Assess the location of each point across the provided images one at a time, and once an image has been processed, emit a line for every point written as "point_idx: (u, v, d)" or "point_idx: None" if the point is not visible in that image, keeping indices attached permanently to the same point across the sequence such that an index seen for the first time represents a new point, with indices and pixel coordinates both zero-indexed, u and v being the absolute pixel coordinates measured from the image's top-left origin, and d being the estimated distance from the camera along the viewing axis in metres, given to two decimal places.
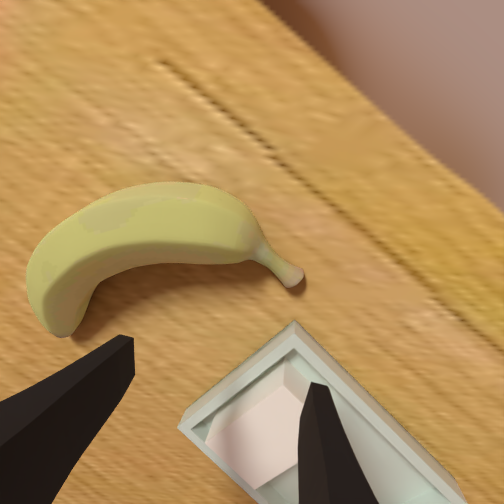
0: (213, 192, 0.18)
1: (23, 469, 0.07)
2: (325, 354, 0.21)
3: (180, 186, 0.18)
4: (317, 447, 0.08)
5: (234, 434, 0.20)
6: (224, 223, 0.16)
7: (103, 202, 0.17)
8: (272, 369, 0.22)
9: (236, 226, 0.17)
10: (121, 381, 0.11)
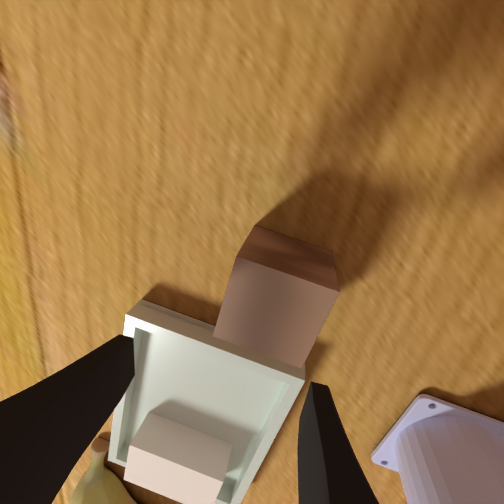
0: None
1: (23, 469, 0.07)
2: None
3: None
4: (317, 447, 0.08)
5: (184, 498, 0.24)
6: None
7: None
8: None
9: None
10: (121, 381, 0.11)
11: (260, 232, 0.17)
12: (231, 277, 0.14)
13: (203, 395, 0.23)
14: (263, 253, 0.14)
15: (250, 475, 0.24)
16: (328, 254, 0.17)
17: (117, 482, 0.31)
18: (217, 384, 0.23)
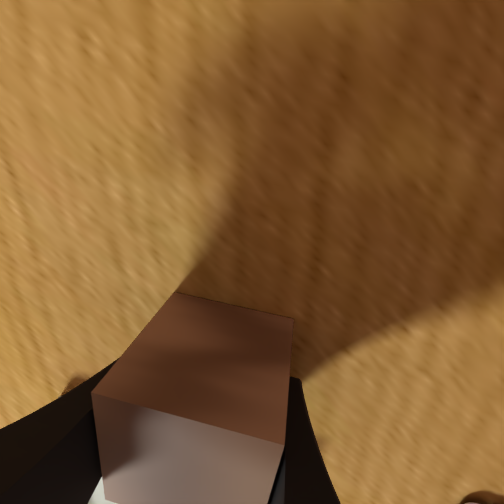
0: None
1: (60, 481, 0.07)
2: None
3: None
4: None
5: None
6: None
7: None
8: None
9: None
10: None
11: (175, 308, 0.11)
12: (97, 423, 0.08)
13: None
14: (155, 366, 0.08)
15: None
16: (286, 330, 0.11)
17: None
18: None
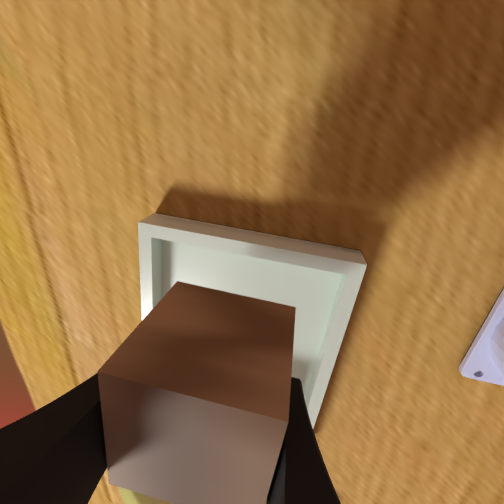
0: None
1: (59, 480, 0.07)
2: None
3: None
4: None
5: None
6: None
7: None
8: None
9: None
10: None
11: (179, 296, 0.11)
12: (102, 403, 0.08)
13: None
14: (160, 348, 0.08)
15: (312, 415, 0.20)
16: (288, 317, 0.11)
17: None
18: None
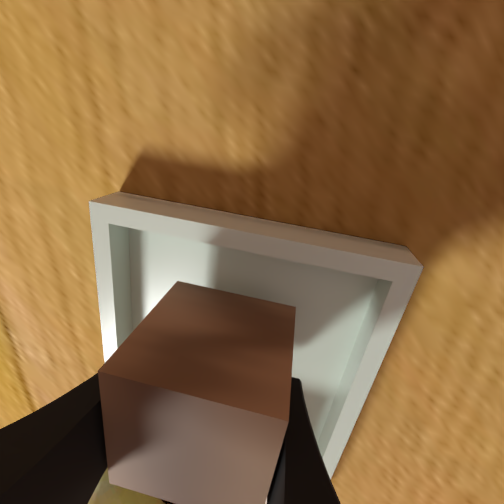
0: None
1: (60, 481, 0.07)
2: None
3: None
4: None
5: None
6: None
7: None
8: None
9: None
10: None
11: (179, 296, 0.11)
12: (103, 403, 0.08)
13: None
14: (160, 348, 0.08)
15: (329, 465, 0.15)
16: (288, 317, 0.11)
17: None
18: None
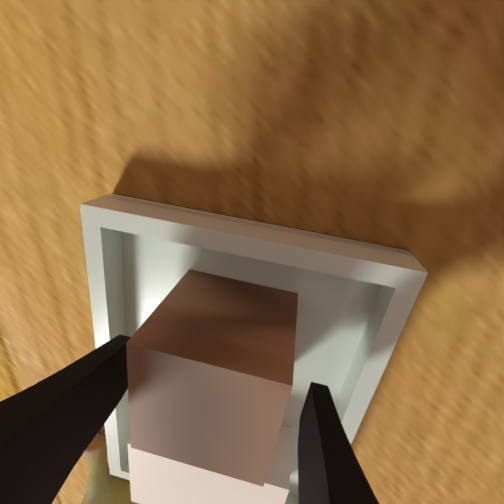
0: None
1: (23, 469, 0.07)
2: None
3: None
4: (317, 447, 0.08)
5: None
6: None
7: None
8: None
9: None
10: (121, 381, 0.11)
11: (192, 282, 0.12)
12: (129, 372, 0.09)
13: None
14: (178, 326, 0.09)
15: None
16: (291, 301, 0.12)
17: None
18: None
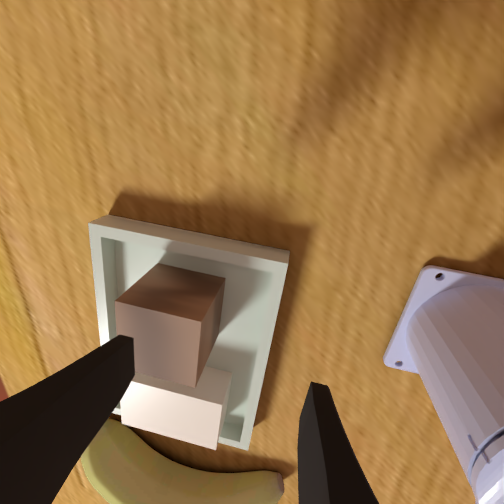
0: None
1: (23, 469, 0.07)
2: None
3: None
4: (317, 447, 0.08)
5: (187, 435, 0.22)
6: (84, 467, 0.26)
7: None
8: None
9: (82, 459, 0.26)
10: (121, 381, 0.11)
11: (157, 270, 0.19)
12: (116, 318, 0.16)
13: None
14: (145, 293, 0.17)
15: (254, 401, 0.22)
16: (218, 282, 0.19)
17: (128, 431, 0.28)
18: None
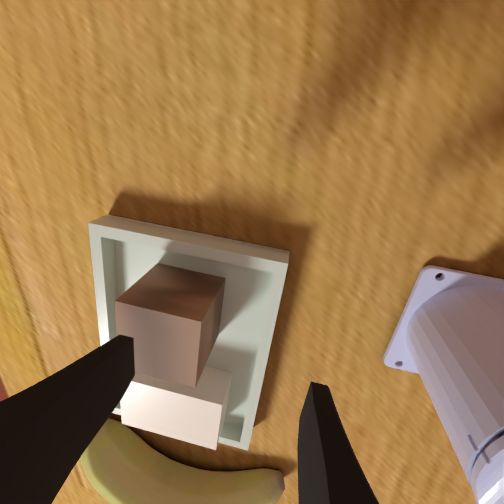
0: None
1: (23, 469, 0.07)
2: None
3: None
4: (317, 447, 0.08)
5: (187, 435, 0.22)
6: (84, 467, 0.26)
7: None
8: None
9: (82, 459, 0.26)
10: (121, 381, 0.11)
11: (157, 270, 0.19)
12: (116, 318, 0.16)
13: None
14: (145, 293, 0.17)
15: (254, 401, 0.22)
16: (218, 282, 0.19)
17: (127, 431, 0.28)
18: None
